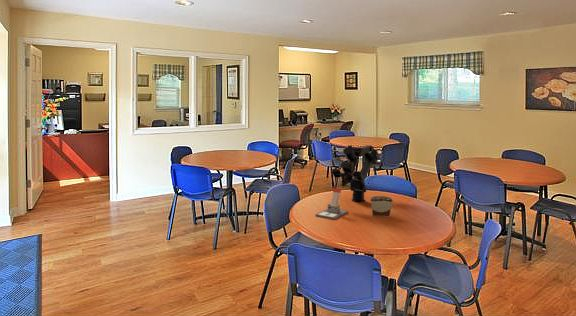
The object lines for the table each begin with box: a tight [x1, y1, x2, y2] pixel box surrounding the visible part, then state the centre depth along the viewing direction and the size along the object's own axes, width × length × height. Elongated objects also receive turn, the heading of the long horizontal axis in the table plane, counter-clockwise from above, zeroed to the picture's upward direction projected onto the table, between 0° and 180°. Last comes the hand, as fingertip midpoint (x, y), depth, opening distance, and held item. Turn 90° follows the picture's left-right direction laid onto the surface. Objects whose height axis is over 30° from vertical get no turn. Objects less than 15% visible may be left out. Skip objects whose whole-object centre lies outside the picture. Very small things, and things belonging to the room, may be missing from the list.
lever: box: [330, 187, 342, 209], centre depth 239 cm, size 2×4×11 cm, turn 58°
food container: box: [369, 195, 394, 217], centre depth 235 cm, size 12×6×10 cm, turn 84°
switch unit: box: [315, 203, 349, 221], centre depth 236 cm, size 16×12×5 cm
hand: (342, 186), depth 245 cm, fingers closed
